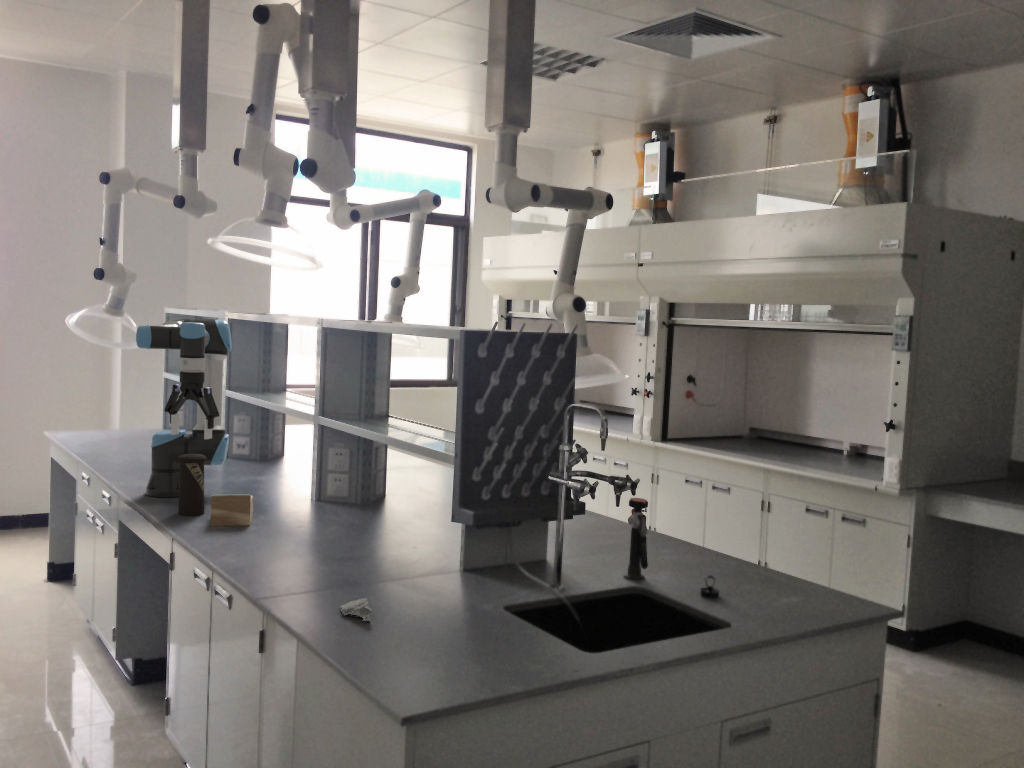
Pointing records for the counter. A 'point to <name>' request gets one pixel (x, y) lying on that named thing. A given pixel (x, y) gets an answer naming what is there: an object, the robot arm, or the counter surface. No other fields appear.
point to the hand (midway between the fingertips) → (191, 436)
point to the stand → (231, 509)
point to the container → (191, 484)
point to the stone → (358, 608)
